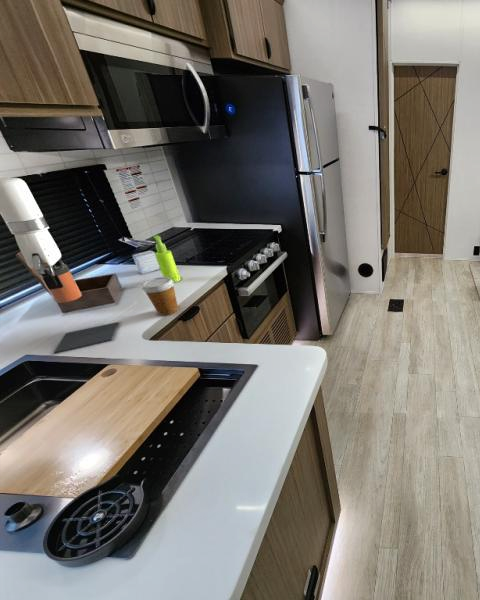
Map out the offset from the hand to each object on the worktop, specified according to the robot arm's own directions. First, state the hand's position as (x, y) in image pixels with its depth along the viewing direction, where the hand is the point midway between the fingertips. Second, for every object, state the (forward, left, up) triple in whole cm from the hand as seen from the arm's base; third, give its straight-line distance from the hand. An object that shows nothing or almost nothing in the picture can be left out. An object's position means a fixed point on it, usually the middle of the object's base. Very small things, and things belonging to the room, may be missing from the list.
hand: (60, 283), depth 100 cm
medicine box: (+12, +56, -19) cm, 61 cm away
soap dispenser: (+22, +38, -19) cm, 48 cm away
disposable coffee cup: (+22, +6, -19) cm, 30 cm away
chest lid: (-13, +30, -3) cm, 33 cm away
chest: (-4, +30, -19) cm, 36 cm away
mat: (0, -1, -19) cm, 19 cm away
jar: (0, 0, -5) cm, 5 cm away
